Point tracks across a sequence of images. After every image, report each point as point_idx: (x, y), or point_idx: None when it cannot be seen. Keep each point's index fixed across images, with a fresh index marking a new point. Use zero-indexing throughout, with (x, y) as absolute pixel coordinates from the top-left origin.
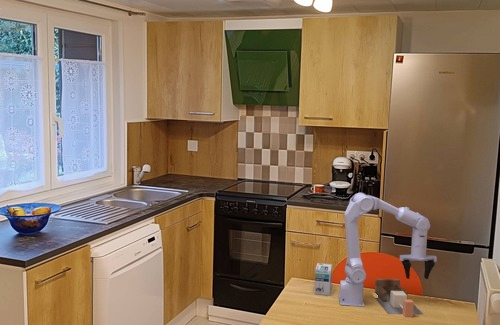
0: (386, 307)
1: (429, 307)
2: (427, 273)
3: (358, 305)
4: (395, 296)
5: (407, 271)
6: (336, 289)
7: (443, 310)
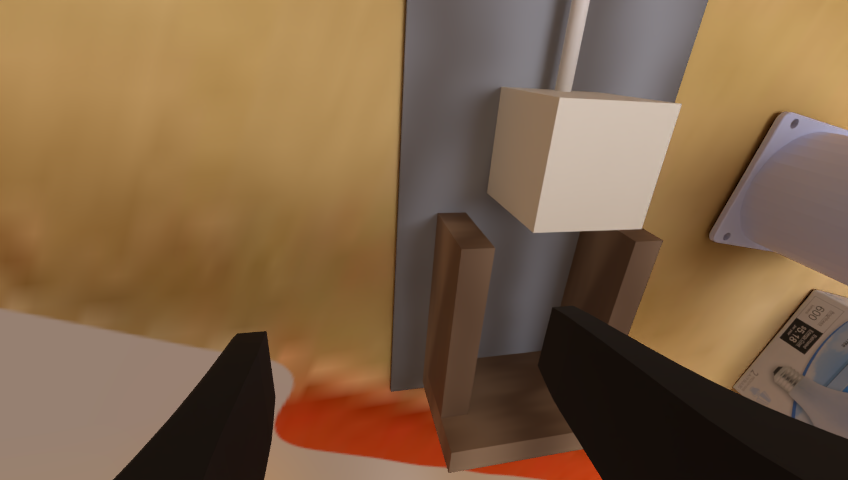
0: (650, 93)
1: (273, 106)
2: (231, 410)
3: (814, 119)
4: (662, 102)
5: (699, 375)
6: (719, 378)
7: (132, 9)
